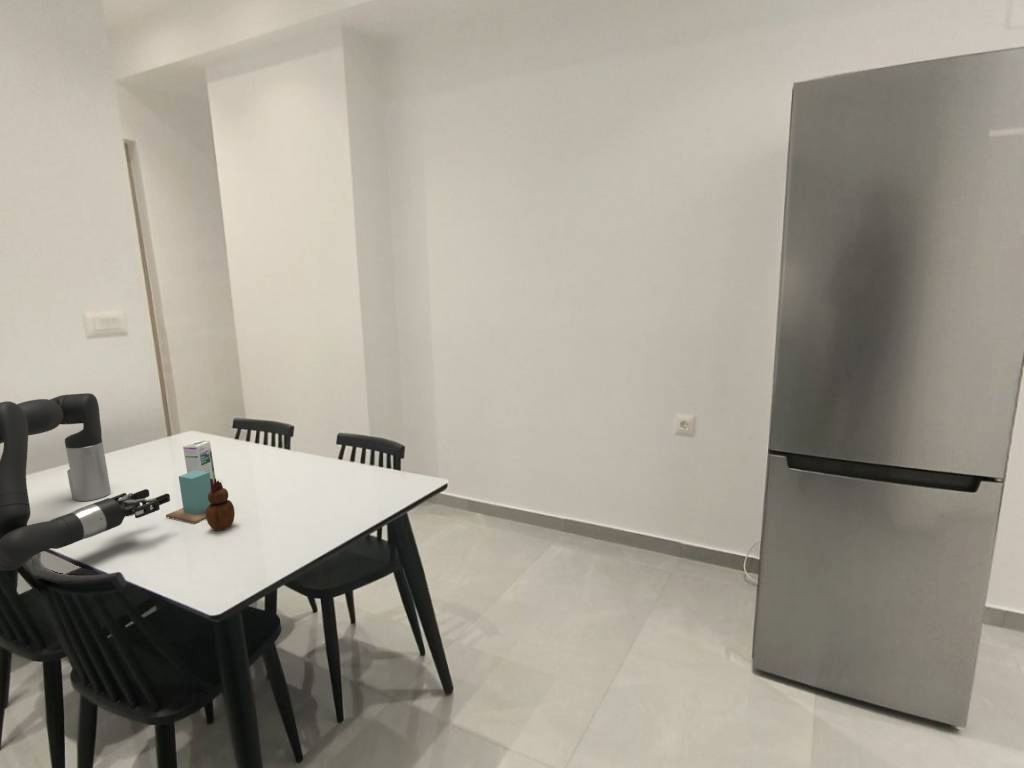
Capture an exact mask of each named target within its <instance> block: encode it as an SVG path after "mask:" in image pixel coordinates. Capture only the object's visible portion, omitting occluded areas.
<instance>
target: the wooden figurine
mask: <svg viewBox="0 0 1024 768" xmlns="http://www.w3.org/2000/svg"><path fill="white" fill-rule="evenodd" d="M210 484H211V491H210V492H209V494H208V500H209V502H210V503H211V504H210V505H209V506H208V507H207V509H206V519H205V520H206V521H207V522H206V523H207V524H208V525H209V526H210V528H211V529H212V530H213V531H215V532H219V531H224V530H227V529H229V528H230V527H232V526H233V523H234V520H235V506H234V504H233V502H232V501H231V500H229V493H228V489H226V488H224V487H223V484H222V482H221V481H219V480H217V479H216V477H215V478H214V483H213V481H212V479H210Z"/></svg>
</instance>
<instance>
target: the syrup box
mask: <svg viewBox="0 0 1024 768" xmlns="http://www.w3.org/2000/svg"><path fill="white" fill-rule="evenodd" d="M182 450H183V455H184V461H185V469H186V474H187V473H190V472H192V471H195V470H199V471H205V472H210V479H212V481H213V483H214V478H216V475H215V474H216V473H215V466H214V461H213V460H214V459H213V453H212V447H211V441H209V440H195V441H193V442H190V443H188V444H185V445H183V446H182Z"/></svg>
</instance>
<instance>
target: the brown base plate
mask: <svg viewBox="0 0 1024 768" xmlns="http://www.w3.org/2000/svg"><path fill="white" fill-rule="evenodd" d="M166 517H169V518H168V519H170V518H174V519H173V520H175V519H178V520H177V521H179V520H182V521H181V522H183V521H185V522H184V523H188V522H189V524H192V523H193V525H197V524H198V523H200V521H201V522H203V521H204V519H205V520H207V519H206V512H203V513H201V514H199V515H194V514H189V513H185V512H184V510H183V507H182V508H180V509H177V510H174V511H171V512H169V513H167V514H166V515H165V518H166ZM202 520H203V521H202Z"/></svg>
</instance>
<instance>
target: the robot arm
mask: <svg viewBox="0 0 1024 768" xmlns="http://www.w3.org/2000/svg"><path fill="white" fill-rule="evenodd" d="M100 415H101V414H100V407H99V401H98V398H97V397H96V396H95V395H94V394H93V393H90V392H89V393H88V392H87V393H74V394H73V393H71V394H69V393H68V394H63V395H58V396H55V397H53V398H51V399H47V398H39V399H37V398H36V399H32V400H27V401H22V402H19V403H15V402H13V401H8V400H7V401H5V400H4V401H2V402H0V445H1V444H3V449H2V450H3V451H2V454H1V456H0V571H2V572H3V571H4V572H6V571H7V572H11V571H15V570H18V569H20V568H21V567H23V566H24V565H26V564H27V562H29V561H30V559H31V558H32V557H34V556H36V555H38V554H40V553H42V552H45V551H48V550H52V549H53V550H57V549H62V548H64V547H67V546H71V545H72V544H75V543H77V542H79V541H82V540H84V539H85V540H87V539H89V538H92V537H94V536H97V535H100V534H102V533H104V532H107V531H110V530H111V529H115V528H117V527H119V526H121V525H122V523H123V521H124V519H125V518H126V517H131V516H134V518H135V519H139V518H142V517H145V516H148V515H150V514H153V513H155V512H157V511H160V510H161V509H160V506H161V505H164V504H166V503H169V502H171V495H170V494H169V493H164V494H161V495H158V496H156V497H154V498H149V497H150V490H149V489H147V488H145V489H142V490H139V491H137V492H133V493H132V492H131V493H128V494H127V492H123V493H120V494H118V495H114V496H112V497H110V498H109V497H107V498H106V496H108V495H110V494H111V493H112V490H111V485H110V479H109V473H108V468H107V467H108V466H107V460H106V455H105V449H104V448H105V447H104V444H103V443H104V442H103V438H102V436H103V435H102V425H101V416H100ZM77 424H78V425H79V424H82V425H83V426H82V429H81V430H80V431H78V432H75V433H73V434H70V435H68V436H66V437H65V438H64V444H65V445H64V446H65V450H66V457H67V461H68V467H69V469H67V471H66V472H67V479H68V484H69V488H70V494H71V495H70V496H71V499H72V500H74V501H77V502H86V501H87V502H88V501H94V500H98V499H101V498H104V497H105V499H102V500H100V501H99V500H98V501H97V502H94V503H91V504H88V505H85V506H82V507H79V508H77V509H76V510H74V511H71V512H69V513H66V514H64V515H61V516H58V517H56V518H55V517H54V518H52V519H51V520H47V521H41V522H37V523H32V524H28V522H29V520H30V518H31V506H30V504H31V503H30V499H29V493H28V485H27V465H28V464H27V463H28V447H29V436H34V435H38V434H42V433H47V432H49V431H52V430H54V429H56V428H57V427H59V426H60V425H77ZM146 498H149V499H146ZM141 504H142V505H141Z"/></svg>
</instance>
